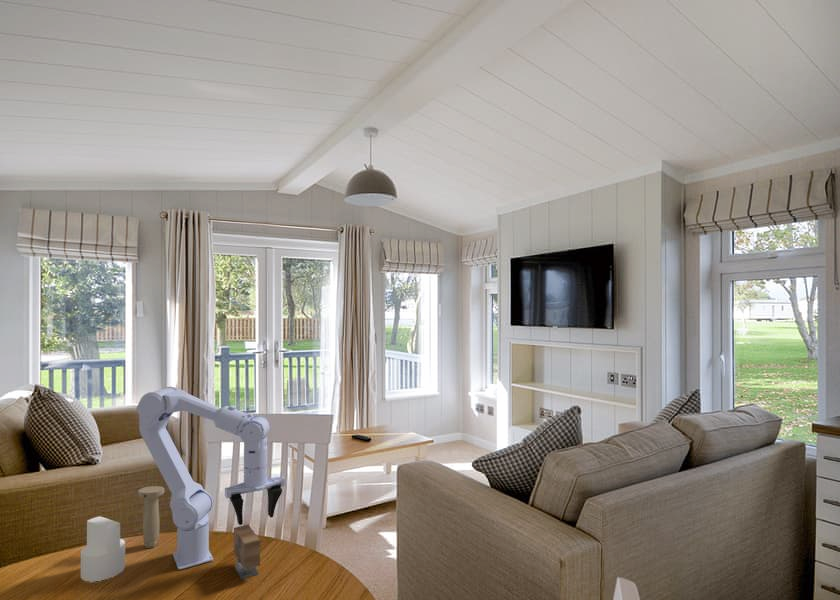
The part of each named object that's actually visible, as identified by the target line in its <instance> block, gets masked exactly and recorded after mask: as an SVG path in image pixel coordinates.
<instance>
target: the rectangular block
mask: <svg viewBox="0 0 840 600" xmlns="http://www.w3.org/2000/svg"><path fill="white" fill-rule="evenodd" d="M233 553H234V555H235V557H236V558H237V559H238V560H239V562H240V563H241V565H242V566H243V568H244V570H246V569H250V568H253V567H256V568H257V567H260V566H261V539H260V538H259V536H258V535H257V534H256V533H255V531H254V530H253V529H252V527H251V526H250V525H249V524H244V525H239V526H237V527H233Z"/></svg>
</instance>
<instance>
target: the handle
mask: <svg viewBox="0 0 840 600" xmlns="http://www.w3.org/2000/svg"><path fill="white" fill-rule="evenodd" d="M164 494H165V487H163V486H159V485H153V486H145V487H142V488H140V489H138V491H137V496H138V497H140V498H141V499H143V503H144V504H143V517H142V536H143V545H144V547H145V549H151V548H155V547H156V546H158V545H159V536H160V527H161V526H160V524H161V523H160V522H161V520H160V511H159V509H160V507H159V498H160V497H161V496H163V495H164Z"/></svg>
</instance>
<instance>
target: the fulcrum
mask: <svg viewBox="0 0 840 600" xmlns="http://www.w3.org/2000/svg"><path fill="white" fill-rule="evenodd" d="M234 570H235V571H236V573H237V575H238V576H240V577H239V578H240V580H243V579H246V578H249V577H250V576H251V577H253V575H254V576H257V575H259V570H258V569H257V567H253V568H250V569H246V570H244V568H243V566H242V565H241V563H240V562H239V560H238V558H237V559H236V565H234Z"/></svg>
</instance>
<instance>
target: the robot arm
mask: <svg viewBox="0 0 840 600" xmlns="http://www.w3.org/2000/svg"><path fill="white" fill-rule="evenodd" d="M135 409H136V412H137V414H138V421H139V422H138V423H139V429H138V430H139V433H140V435H141V438H142V439H143V441H144V443H145V445H146V447H147V449H148V451H149V453H150V455H151V456H152V458H153V460H154V462H155V465H156V466H157V468H158V470H159V473H160V474H161V476H162V478H163V480H164V481H165V484H166V486H167V487H168V490H169V491H170V493H171V497H170V503H169V507H170V509H171V512H172V513H171V514H172V522H173V524H174V525H175V526H176V527H177V529H176V551H173V552H172V556H173V559H174V562H175V564H176V567H177V569H178V570H180V571H181V570H183V569H188V568H190V567H194V566H197V565H202V564H205V563H209V562H212V561H213V560H214V557H213V555H212V553H211V551H210V545H209V543H210V542H209V541H210V540H209V539H210V538H209V537H210V533H209V532H210V527H209V526H210V523H209V522H210V519H209V512H211V510H212V508H213V506H214V500H213V497H212V495H211V494H210V493H209V492H207V491H206V490H205V489H204V487H203V485H202V484H200V483H198V482H196V481H194V480H193V478H192V475H191V474H190V472H189V470H188V468H187V465H186V464H185V463H184V461H183V459H182V457H181V454H180V453H179V451H178V449H177V447H176V445H175V444H174V441H173V439H172V437H171V436H170V433H169V431H168V430H167V426H168V423H169V421H170V418H171V416H173V414H174V413H177V412H182V411H184V412H186V413H188V414H189V413H190V414H193V415H196V416H199V417H201V418H205V419H208V420H211V421H213V424H214V426H215V427H216V428H217V429H220V430H223V431H224V432H227V433H230V434H233V435H235V436H238V437H240V439H241V441H242V442H243V482H241V483H238V484H234V485H232V486H229V487H225V488H224V497H225V498H226V499H229V500H230V502H231V504H232V507H233V509H234V511H235V515H236V520H237V524H238V525H239V526H244V525H243V523H244V522H243V521H244V518H243V508H244V507H243V506H244V499H243V496H242V495H244V494H248V493H253V492H260V491H263V490H266V491H267V513H268V514H267V515H268V517H270V518H274V514H275V509H276V506H277V504H278V501H279V499H280V496H281V495H282V493H283V488H282V487H286V478H285V477H284V476H278V477H268V434H269V433H270V432H271V431H270V430H271V423H270V421H269V419H267V418H266V417H265V416H264V415H261V414H260V415H254V414H253V413H251V412H249V413H247V412H244V411H242V410H239V409H237V406H236V405H233V404H231V405H230V406H228V405H225V406H223V407H219V406H216V405H214V404H212V403H209V402H208V401H206V400H202V399H200V398H199V397H196V396H194V395H192V394H190V393H188V392H187V391H185V390H184V389H180V388H179V389H177V388H176V387H174V386H165V387H163V388H162V389H159V390H155V391H150V392H147V393H145V394H144V395H142V396H141V398H140V399H139V402H138V404H137V406H136V408H135Z"/></svg>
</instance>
